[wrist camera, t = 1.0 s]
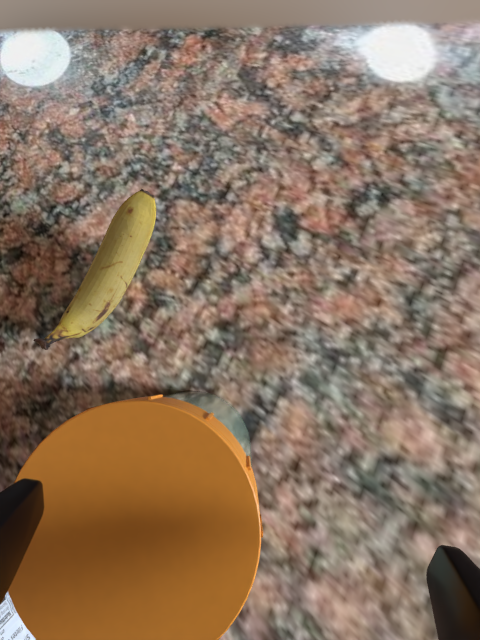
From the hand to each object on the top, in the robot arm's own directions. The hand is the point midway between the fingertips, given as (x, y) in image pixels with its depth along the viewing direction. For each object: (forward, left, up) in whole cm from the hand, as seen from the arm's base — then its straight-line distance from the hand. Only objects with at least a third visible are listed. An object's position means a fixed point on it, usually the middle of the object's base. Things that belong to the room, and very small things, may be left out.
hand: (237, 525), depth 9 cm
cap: (-2, +2, -2) cm, 4 cm away
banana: (+6, +10, -15) cm, 19 cm away
